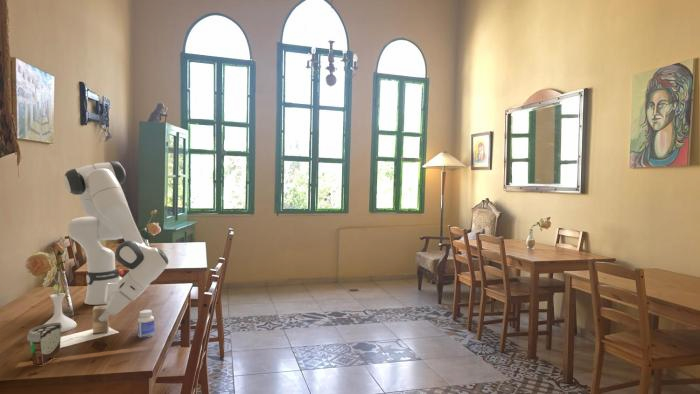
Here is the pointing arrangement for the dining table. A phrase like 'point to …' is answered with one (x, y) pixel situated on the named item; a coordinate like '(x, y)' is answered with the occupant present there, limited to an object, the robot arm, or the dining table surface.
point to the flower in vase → (58, 304)
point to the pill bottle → (145, 324)
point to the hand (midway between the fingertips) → (101, 315)
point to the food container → (44, 342)
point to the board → (83, 337)
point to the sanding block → (98, 325)
